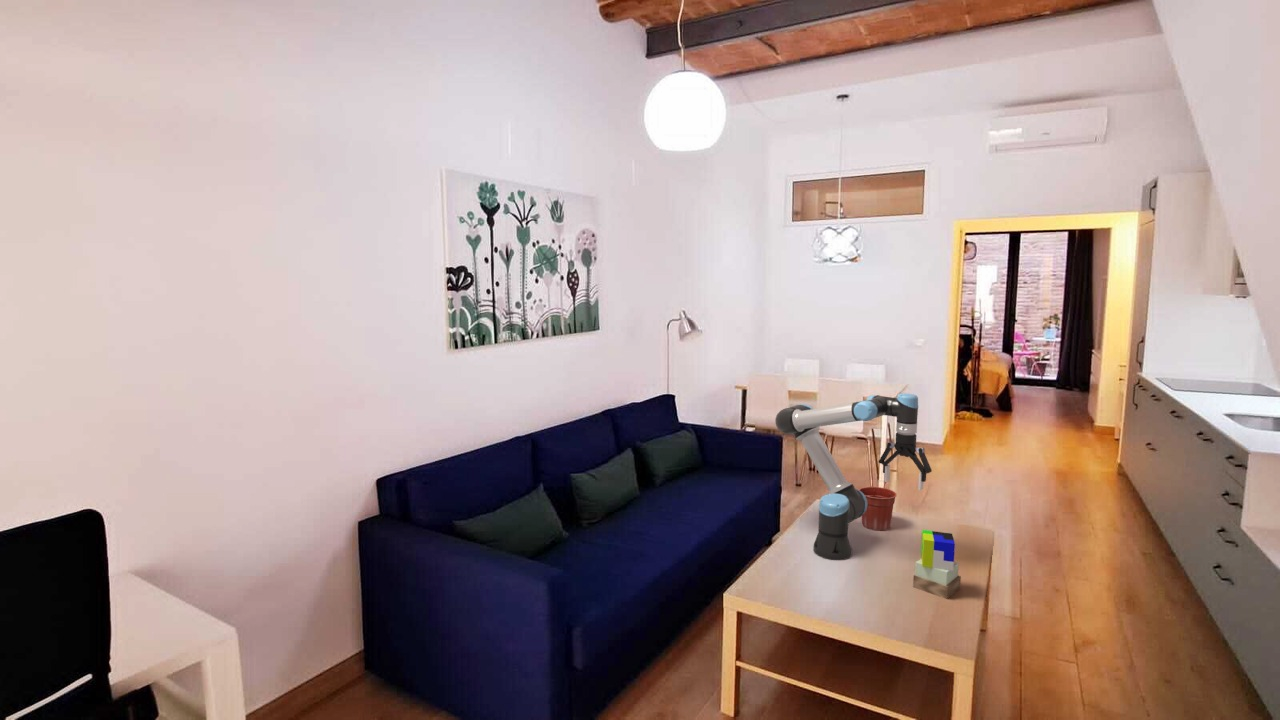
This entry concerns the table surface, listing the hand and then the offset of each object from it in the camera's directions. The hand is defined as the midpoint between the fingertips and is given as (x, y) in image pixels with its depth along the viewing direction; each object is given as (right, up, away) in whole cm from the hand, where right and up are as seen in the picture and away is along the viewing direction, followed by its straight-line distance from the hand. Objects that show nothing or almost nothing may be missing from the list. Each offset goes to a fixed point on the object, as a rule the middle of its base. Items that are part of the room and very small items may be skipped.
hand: (903, 485), depth 251 cm
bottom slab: (+4, -34, -20) cm, 40 cm away
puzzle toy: (+3, -24, -22) cm, 33 cm away
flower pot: (+3, -27, +39) cm, 47 cm away
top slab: (+3, -29, -21) cm, 36 cm away
